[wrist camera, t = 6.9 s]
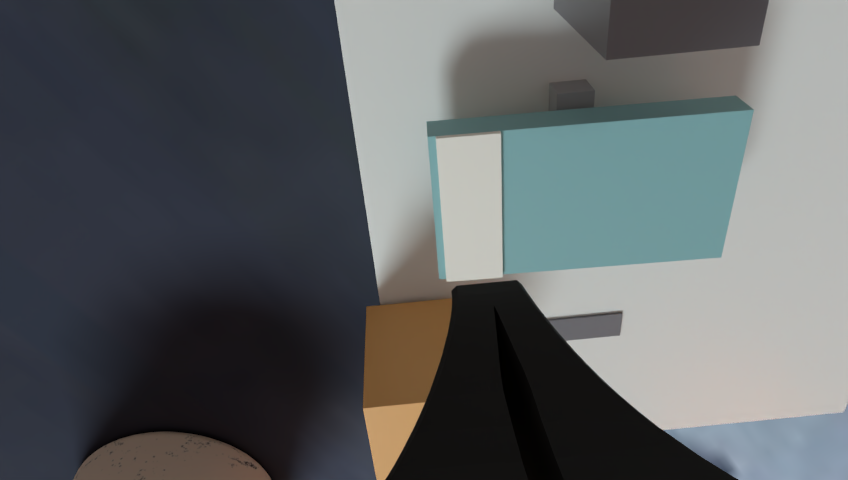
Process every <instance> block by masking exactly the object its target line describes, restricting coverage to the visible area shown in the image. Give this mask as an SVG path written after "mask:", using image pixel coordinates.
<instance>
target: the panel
mask: <svg viewBox="0 0 848 480" xmlns="http://www.w3.org/2000/svg"><path fill="white" fill-rule="evenodd" d="M334 1H335V8H336V15H337V21H338V28H339V34H340V41H341V48H342V54H343V61H344V68H345V74H346V81H347V87H348V94H349V101H350V107H351V114H352V120H353V127H354V134H355V140H356V147H357V153H358V160H359V167H360V173H361V180H362V187H363V193H364V200H365V206H366V213H367V220H368V226H369V233H370V239H371V246H372V253H373V259H374V266H375V272H376V279H377V286H378V292H379V299H380V305H388V304H399V303H409V302H419V301H429V300H440V299H450V298H452V293H451V291H452V290H453V289H454V288H455V287H456V286H458V285H468V284H479V283H490V282H500V281H511V280H517V281H519V282H520V283H521V284H522V285H523V287H524V288H525V290H526V291H527V293H528V294H529V296H530V297H531V298H532V300H533V301H534V303H535V304H536V305H537V307H538V308H539V309H540V311H541V312H542V313H543V314H544V316H545V317H546V318H547V319H548V321H549V322H550V323H551V324H552V326H553V327H554V328H555V329H556V330H557V332H558V333H559V334H560V335H561V336H562V337H563V338H564V340H565V341H566V342H567V343H568V344H569V345H570V346H571V347H572V349H573V350H574V351H575V352H576V353H577V354H578V355H579V356H580V357H581V358H582V359H583V360H584V362H585V363H586V364H587V365H588V366H589V367H590V368H591V369H592V370H593V371H594V372H595V373H596V374H597V375H598V376H599V377H600V378H602V379H603V380H604V381H605V382H606V383H607V384H608V385H609V386H610V387H611V388H612V389H613V390H614V391H615V392H617V393H618V394H619V395H620V396H621V397H622V398H623V399H625V400H626V401H627V402H628V403H629V404H630V405H632V406H633V407H634V408H635V409H636V410H638V411H639V412H640V413H641V414H643V415H644V416H645V417H646V418H648V419H649V420H650V421H651V422H653V423H654V424H655V425H656V426H658V427H659V428H660V429H662V430H668V429H678V428H688V427H699V426H709V425H719V424H729V423H739V422H749V421H760V420H770V419H780V418H790V417H800V416H810V415H820V414H831V413H841V412H844V410H845V408H846V406H847V403H848V0H769V3H768V7H767V12H766V17H765V21H764V26H763V31H762V35H761V40H760V45H759V46H748V47H738V48H728V49H717V50H707V51H696V52H686V53H676V54H665V55H655V56H645V57H634V58H624V59H613V60H605V59H604V58H603V57H602V56H601V55H600V54H599V53H598V52H597V51H596V50H595V49H594V48H593V47H592V46H591V45H590V44H589V43H588V42H587V41H586V40H585V39H584V38H583V37H582V36H581V35H580V34H579V33H578V32H577V31H576V30H575V29H574V28H573V27H572V26H571V25H570V24H569V23H568V22H567V21H566V20H565V19H564V18H563V17H562V16H561V15H560V14H559V13H558V12H557V11H556V10H555V9H554V0H334ZM735 95H736V96H737V97H738V98H740V99H741V100H742V101H744V102H745V103H746V104H747V105H749V106H750V107H751V108H752V109H754V112H753V117H752V121H751V126H750V130H749V135H748V139H747V144H746V148H745V153H744V157H743V162H742V166H741V171H740V175H739V180H738V184H737V189H736V193H735V198H734V202H733V207H732V211H731V216H730V220H729V225H728V229H727V234H726V238H725V243H724V247H723V252H722V256H721V258H708V259H695V260H682V261H669V262H657V263H644V264H631V265H618V266H605V267H592V268H579V269H567V270H554V271H541V272H528V273H515V274H503V278H492V279H479V280H466V281H453V282H446V279H439V271H438V259H437V246H436V234H435V222H434V210H433V198H432V186H431V174H430V162H429V149H428V137H427V123H426V121H438V120H449V119H461V118H473V117H485V116H497V115H509V114H521V113H533V112H545V111H557V110H569V109H581V108H592V107H604V106H616V105H628V104H640V103H652V102H664V101H676V100H688V99H700V98H712V97H723V96H735Z"/></svg>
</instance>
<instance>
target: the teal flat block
mask: <svg viewBox="0 0 848 480" xmlns="http://www.w3.org/2000/svg"><path fill="white" fill-rule="evenodd" d="M753 112H754V109H752V108H751V107H750V106H749V105H747V104H746V103H745V102H744V101H742V100H741V99H740V98H738V97H737V96H736V95H735V96H723V97H712V98H700V99H688V100H676V101H664V102H652V103H640V104H628V105H616V106H604V107H592V108H581V109H569V110H557V111H545V112H533V113H521V114H509V115H497V116H485V117H473V118H461V119H449V120H438V121H426V123H427V137H428V149H429V162H430V174H431V186H432V198H433V210H434V222H435V234H436V246H437V259H438V271H439V279H446V282H453V281H466V280H479V279H492V278H503V274H515V273H528V272H541V271H554V270H567V269H579V268H592V267H605V266H618V265H631V264H644V263H657V262H669V261H682V260H695V259H708V258H721V256H722V252H723V247H724V243H725V238H726V234H727V229H728V225H729V220H730V216H731V211H732V207H733V202H734V198H735V193H736V189H737V184H738V180H739V175H740V171H741V166H742V162H743V157H744V153H745V148H746V144H747V139H748V135H749V130H750V126H751V121H752V117H753Z"/></svg>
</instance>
